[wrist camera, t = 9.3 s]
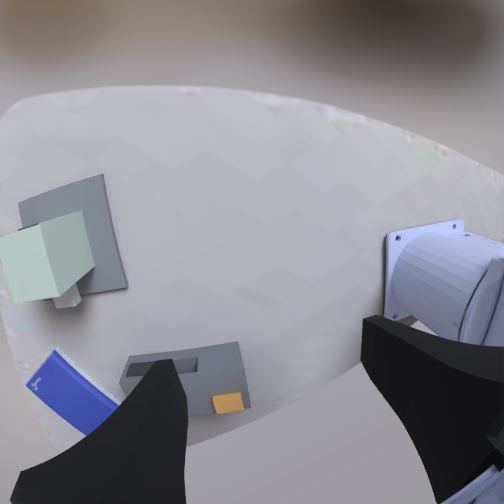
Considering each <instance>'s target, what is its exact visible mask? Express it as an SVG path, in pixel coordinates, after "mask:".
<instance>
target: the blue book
mask: <svg viewBox="0 0 504 504" xmlns="http://www.w3.org/2000/svg"><path fill="white" fill-rule="evenodd" d="M25 385H26V386H27V387H28V388H29V389H30V390H31V391H32V392H33V393H34V394H35V395H36V396H37V397H39V398H40V399H41V400H42V401H43V402H44V403H45V404H46V405H48V406H49V407H50V408H51V409H52V410H53V411H55V412H56V413H57V414H58V415H60V416H61V417H62V418H63V419H65V420H66V421H67V422H68V423H70V424H71V425H72V426H74V427H75V428H76V429H78V430H79V431H80V432H82V433H83V434H85V435H86V436H87V435H89V434H90V433H91V432H93V431H94V430H95V429H96V428H97V427H98V426H99V425H101V424H102V423H103V422H104V421H105V420H106V419H107V418H108V417H109V416H110V415H111V414H112V413H113V412H114V411H115V410H116V409H117V408H118V406H119V405H120V404H121V402H120V401H118V400H117V399H116V398H115V397H113V396H112V395H111V394H109V393H108V392H107V391H106V390H104V389H103V388H102V387H101V386H100V385H98V384H97V383H96V382H95V381H94V380H92V379H91V378H90V377H89V376H88V375H87V374H86V373H84V372H83V371H82V370H81V369H80V368H79V367H78V366H77V365H76V364H74V363H73V362H72V361H71V360H70V359H69V358H68V357H67V356H66V355H65V354H64V353H63V352H62V351H61V350H60V349H59V348H58V347H57V346H56V347H55V349H54V350H53V351H52V352H51V353H50V354H49V356H48V357H47V358H46V359H45V360H44V362H43V363H42V364H41V365H40V366H39V368H38V369H37V370H36V371H35V373H34V374H33V375H32V376H31V377H30V379H29V380H28V381H27V383H26V384H25Z"/></svg>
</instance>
